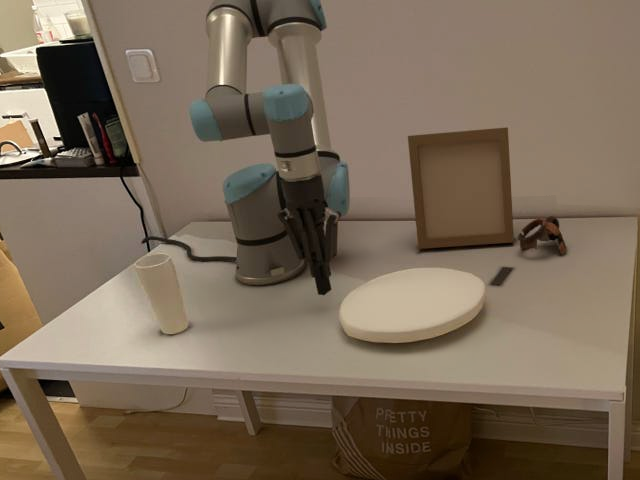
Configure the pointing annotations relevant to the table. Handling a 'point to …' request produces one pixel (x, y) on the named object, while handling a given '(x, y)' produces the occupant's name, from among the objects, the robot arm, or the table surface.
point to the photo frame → (462, 188)
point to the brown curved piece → (542, 233)
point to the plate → (412, 305)
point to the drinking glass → (162, 291)
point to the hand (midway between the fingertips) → (324, 291)
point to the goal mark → (501, 276)
